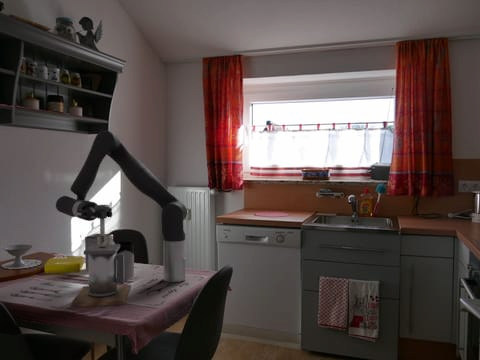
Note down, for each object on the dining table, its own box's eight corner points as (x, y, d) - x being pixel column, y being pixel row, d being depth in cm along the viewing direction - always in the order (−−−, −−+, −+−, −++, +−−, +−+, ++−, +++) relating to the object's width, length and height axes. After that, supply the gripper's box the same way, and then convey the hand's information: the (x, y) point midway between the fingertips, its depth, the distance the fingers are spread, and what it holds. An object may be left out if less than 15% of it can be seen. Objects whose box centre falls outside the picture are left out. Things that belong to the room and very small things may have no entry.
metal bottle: (102, 285, 165) (101, 237, 164) (99, 281, 171) (99, 234, 170) (118, 283, 168) (118, 235, 167) (115, 279, 174) (114, 232, 173)
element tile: (43, 275, 181) (43, 264, 180) (50, 266, 195) (50, 256, 195) (79, 273, 184) (79, 262, 184) (84, 264, 199) (83, 254, 199)
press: (126, 287, 158) (125, 243, 157) (121, 297, 147) (121, 250, 146) (91, 288, 156) (90, 244, 155) (84, 298, 145) (83, 251, 145)
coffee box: (96, 266, 194) (95, 233, 193) (108, 267, 193) (108, 233, 192) (85, 271, 185) (84, 236, 184) (97, 272, 184) (97, 237, 183)
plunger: (110, 234, 153) (110, 204, 153) (108, 236, 148) (108, 206, 148) (96, 234, 153) (96, 204, 152) (93, 237, 148) (93, 206, 147)
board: (130, 288, 162) (130, 284, 162) (124, 304, 144) (124, 300, 144) (83, 290, 159) (83, 286, 159) (71, 306, 142) (71, 302, 142)
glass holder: (114, 281, 171) (114, 246, 170) (113, 272, 184) (112, 239, 183) (136, 279, 174) (135, 244, 173) (133, 270, 187) (132, 238, 186)
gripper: (67, 202, 155) (86, 206, 143) (102, 199, 165) (123, 203, 153) (67, 221, 156) (87, 227, 143) (102, 217, 165) (123, 222, 153)
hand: (105, 214), depth 148 cm, fingers closed on plunger, 3 cm apart
